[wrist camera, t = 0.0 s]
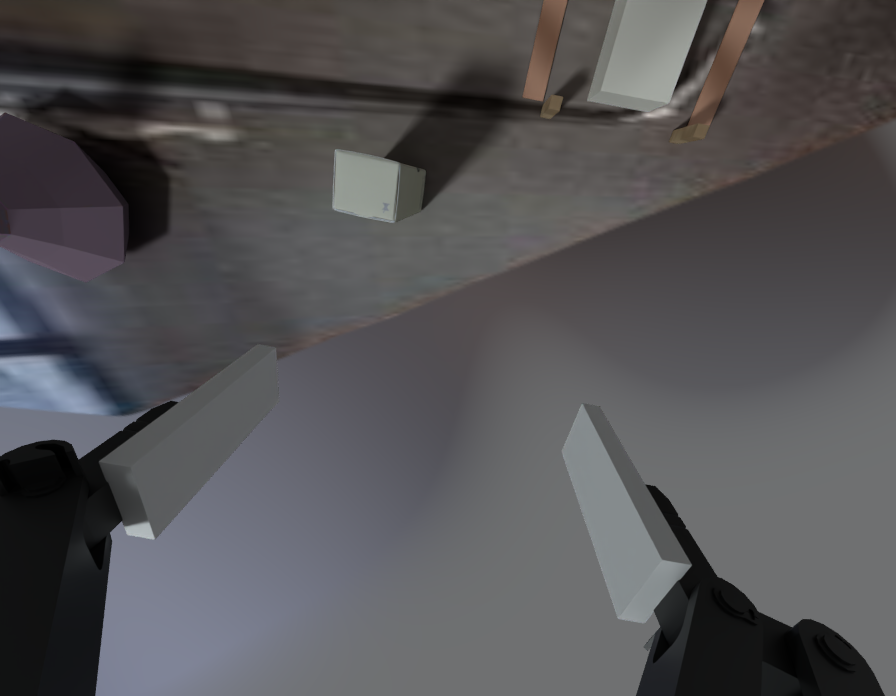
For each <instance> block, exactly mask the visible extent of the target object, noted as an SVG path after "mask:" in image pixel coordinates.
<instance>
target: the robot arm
mask: <svg viewBox="0 0 896 696" xmlns="http://www.w3.org/2000/svg"><path fill="white" fill-rule="evenodd" d="M278 402H279V387H278V372H277V356H276V347H270V346H265V345H259V344H257V345H256V346H255V347H253V348H252V349H251V350H249V351H248V352H247V353H245V354H244V355H243V356H241V357H240V358H238V359H237V360H236V361H234V362H233V363H232V364H230V365H229V366H228V367H226V368H225V369H224V370H222V371H221V372H219V373H218V374H217V375H215V376H214V377H213V378H211V379H210V380H209V381H207V382H206V383H205V384H203V385H202V386H200V387H199V388H198V389H196V390H195V391H194V392H192V393H191V394H190V395H188V396H187V397H186V398H184V399H183V400H181V401H180V402H175V401H170V402H167V403H165V404H162V405H160V406H158V407H155V408H153V409H151V410H150V411H148V412H147V413H145V414H144V415H142V416H141V417H139V418H138V419H137V420H136V422H132V423H131V424H129V425H128V426H127V427H125V428H124V430H123V431H119V432H118V433H116V434H115V435H114V436H112V437H111V438H109V439H108V440H106V441H105V442H104V443H102V444H101V445H99V446H98V447H96V448H95V449H94V450H92V451H91V452H89V453H88V454H86V455H85V456H84V457H82V458H81V459H79V460H78V458H77V456H76V453H75V451H74V448H73V446H72V444H70V443H68V442H66V441H60V440H48V441H40V442H35V443H32V444H28V445H24V446H21V447H19V448H16V449H14V450H12V451H9V452H7V453H5V454H3V455H2V456H0V696H95V693H96V684H97V674H98V665H99V656H100V647H101V638H102V628H103V619H104V610H105V601H106V592H107V583H108V573H109V564H110V555H111V545H112V539H111V535H110V532H111V531H112V530H113V529H114V528H115V527H116V526H117V525H118V524H119V523H120V522H121V521H122V522H123V525H124V528H125V530H126V533H127V535H131V536H137V537H143V538H149V539H156V538H157V537H158V536H159V535H160V534H161V532H162V531H163V530H164V529H165V528H166V527H167V526H168V525H169V524H170V523H171V521H172V520H173V519H174V518H175V517H176V516H177V515H178V513H179V512H180V511H181V510H182V509H183V508H184V507H185V506H186V505H187V504H188V502H189V501H190V500H191V499H192V498H193V497H194V496H195V495H196V493H197V492H198V491H199V490H200V489H201V488H202V487H203V485H204V484H205V483H206V482H207V481H208V480H209V479H210V478H211V477H212V476H213V475H214V473H215V472H216V471H217V470H218V469H219V468H220V467H221V466H222V464H223V463H224V462H225V461H226V460H227V459H228V458H229V457H230V456H231V454H232V453H233V452H234V451H235V450H236V449H237V448H238V447H239V446H240V444H241V443H242V442H243V441H244V440H245V439H246V438H247V436H249V434H250V433H251V432H252V431H253V430H254V429H255V428H256V426H257V425H258V424H259V423H260V422H261V421H262V420H263V419H264V418H265V417H266V415H267V414H268V413H269V412H270V411H271V410H272V409H273V407H274V406H275V405H276V404H277V403H278ZM562 454H563V457H564V460H565V463H566V466H567V469H568V472H569V475H570V478H571V481H572V484H573V487H574V490H575V493H576V496H577V499H578V502H579V505H580V508H581V510H582V513H583V517H584V520H585V523H586V525H587V528H588V531H589V534H590V537H591V540H592V543H593V546H594V549H595V552H596V555H597V558H598V561H599V564H600V567H601V570H602V573H603V576H604V578H605V582H606V585H607V587H608V590H609V594H610V596H611V599H612V602H613V605H614V608H615V611H616V614H617V617H618V619H622V620H629V621H634V622H640V623H645V622H646V621H647V620H648V618H649V617H650V616H651V614H652V613H653V612H655V615H656V617H657V619H658V622H659V624H660V626H661V627H660V628H659V629H658V630H657V631H656V633H655V634H654V635H653V636H652V637H651V638H650V639H649V641H648V642H647V643H646V644H645V646H644V648H645V649H646V650H647V651H648V650H649V649H650V648H651V649H650V652H649V656H648V659H647V662H646V665H645V669H644V672H643V675H642V678H641V681H640V685H639V688H638V691H637V694H636V696H885V695H884V693H883V691H882V689H881V687H880V685H879V683H878V681H877V679H876V677H875V675H874V673H873V671H872V670H871V668H870V667H869V665H868V664H867V662H866V660H865V659H864V658H863V657H862V656H861V655H860V654H859V653H858V651H857V650H856V649H855V648H854V647H853V646H852V645H851V644H850V643H848V642H847V641H846V640H845V639H844V638H843V637H841V636H840V635H839V634H838V633H836V632H834V631H833V630H832V629H830V628H828V627H827V626H825V625H824V624H821V623H819V622H816V621H814V620H811V619H803V620H801V621H800V622H798V623H797V624H796V625H795V626H794V627H790V626H788V625H786V624H783V623H781V622H779V621H777V620H775V619H773V618H771V617H768V616H766V615H764V614H762V613H759V612H758V611H757V609H756V608H755V606H754V605H753V603H752V602H751V601H750V600H749V599H748V598H747V597H746V595H745V594H744V593H742V592H741V591H740V590H739V589H737V588H736V587H735V586H734V585H732V584H731V583H729V582H727V581H725V580H723V579H722V578H718V577H717V575H716V574H715V572H714V571H713V569H712V567H711V566H710V564H709V563H708V561H707V559H706V558H705V556H704V555H703V553H702V552H701V550H700V548H699V547H698V545H697V544H696V542H695V540H694V539H693V537H692V536H691V534H690V533H689V531H688V530H687V529H686V526H685V524H684V523H683V521H682V520H681V518H680V517H678V513H677V512H676V510H675V509H674V507H673V505H672V504H671V502H670V501H669V499H668V498H667V497H666V496H665V495H664V494H663V493H662V492H661V491H660V490H658V488H656V486H651V485H645V484H644V482H643V480H642V478H641V477H640V475H639V473H638V471H637V470H636V468H635V466H634V465H633V463H632V461H631V459H630V458H629V456H628V454H627V452H626V451H625V449H624V447H623V446H622V444H621V442H620V440H619V439H618V437H617V435H616V434H615V432H614V430H613V428H612V427H611V425H610V423H609V421H608V420H607V418H606V416H605V415H604V413H603V411H602V410H601V408H600V406H594V405H589V404H582V405H581V407H580V410H579V412H578V415H577V417H576V419H575V421H574V424H573V426H572V428H571V431H570V433H569V436H568V438H567V440H566V442H565V445H564V447H563V450H562Z"/></svg>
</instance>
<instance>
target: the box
mask: <svg viewBox="0 0 896 696" xmlns="http://www.w3.org/2000/svg"><path fill="white" fill-rule="evenodd" d="M425 177H426V170H424V169H421V168H417V167H413V166H410V165H406V164H402V163H399V162H396V161H393V160H389V159H385V158H381V157H377V156H372V155H368V154H363V153H358V152H352V151H347V150H340V149H336V150H335V161H334V177H333V204H332V207H333V209H334V210H336V211H339V212H343V213H347V214H351V215H355V216H360V217H364V218H370V219H375V220H380V221H385V222H391V223H395V222H398V221H400V220H402V219H405V218H407V217H409V216H412V215H414V214H416V213H419V212H421V208H422V201H423V194H424V186H425Z"/></svg>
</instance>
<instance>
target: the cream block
mask: <svg viewBox="0 0 896 696" xmlns="http://www.w3.org/2000/svg"><path fill="white" fill-rule="evenodd" d="M706 3H707V0H616V1H615V4H614V8H613V11H612V15H611V18H610V22H609V25H608V29H607V32H606V36H605V39H604V43H603V47H602V50H601V54H600V57H599V61H598V64H597V68H596V71H595V75H594V78H593V82H592V85H591V89H590V92H589V96H588V99H587V101H591V102H597V103H602V104H607V105H613V106H618V107H623V108H629V109H634V110H640V111H645V112H650V111H652V110H654V109H657V108H659V107H662V106H664V105H666V104H669V102H670V99H671V96H672V94H673V91H674V88H675V86H676V83H677V80H678V78H679V75H680V72H681V70H682V67H683V64H684V62H685V59H686V56H687V54H688V51H689V48H690V46H691V43H692V40H693V38H694V35H695V32H696V30H697V27H698V24H699V22H700V19H701V16H702V14H703V11H704V8H705V6H706Z"/></svg>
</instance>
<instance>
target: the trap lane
mask: <svg viewBox="0 0 896 696" xmlns="http://www.w3.org/2000/svg"><path fill="white" fill-rule="evenodd" d="M763 2H764V0H739V1H738V4H737V6H736V8H735V11H734V13H733V16H732V18H731V21H730V23H729V25H728V28H727V30H726V33H725V35H724V38H723V40H722V42H721V45H720V47H719V50H718V52H717V55H716V57H715V60H714V62H713V64H712V67H711V69H710V72H709V74H708V77H707V79H706V81H705V84H704V86H703V89H702V91H701V94H700V96H699V98H698V101H697V103H696V106H695V108H694V111H693V113H692V116H691V118H690V120H689V123H688V125H687V127H684V128H680V129H676V130H674V131H673V133H672V136H671V138H670V141H669V142H671V143H676V144H681V143H686V142H691V141H696V140H701V139H704V138H705V135H706V133H707V131H708V129H709V126H710V124H711V122H712V119H713V117H714V115H715V112H716V110H717V108H718V105H719V103H720V101H721V99H722V96H723V94H724V92H725V89H726V87H727V85H728V83H729V80H730V78H731V76H732V73H733V71H734V69H735V66H736V64H737V62H738V60H739V57H740V55H741V53H742V50H743V48H744V46H745V43H746V41H747V39H748V37H749V34H750V32H751V30H752V27H753V25H754V23H755V21H756V18H757V16H758V14H759V11H760V9H761V7H762V4H763ZM566 4H567V0H544V2H543V6H542V11H541V15H540V20H539V24H538V29H537V34H536V38H535V43H534V47H533V52H532V56H531V61H530V65H529V70H528V75H527V79H526V84H525V88H524V93H523V97H522V98H527V99H532V100H538V101H543V99H544V95H545V91H546V87H547V83H548V78H549V74H550V70H551V66H552V62H553V58H554V54H555V50H556V45H557V41H558V37H559V33H560V29H561V25H562V21H563V17H564V13H565V8H566ZM562 100H563V97H561V96H556V95H551V96H550V97H549V99H548V100H547V101H546V102H545V103H544V104H543V107H542V111H541V115H540V117H542V118H547V119H551V118H552V117H553V116H554V115H555V114H556V113H558V112H559V111H560V107H561V104H562Z"/></svg>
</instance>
